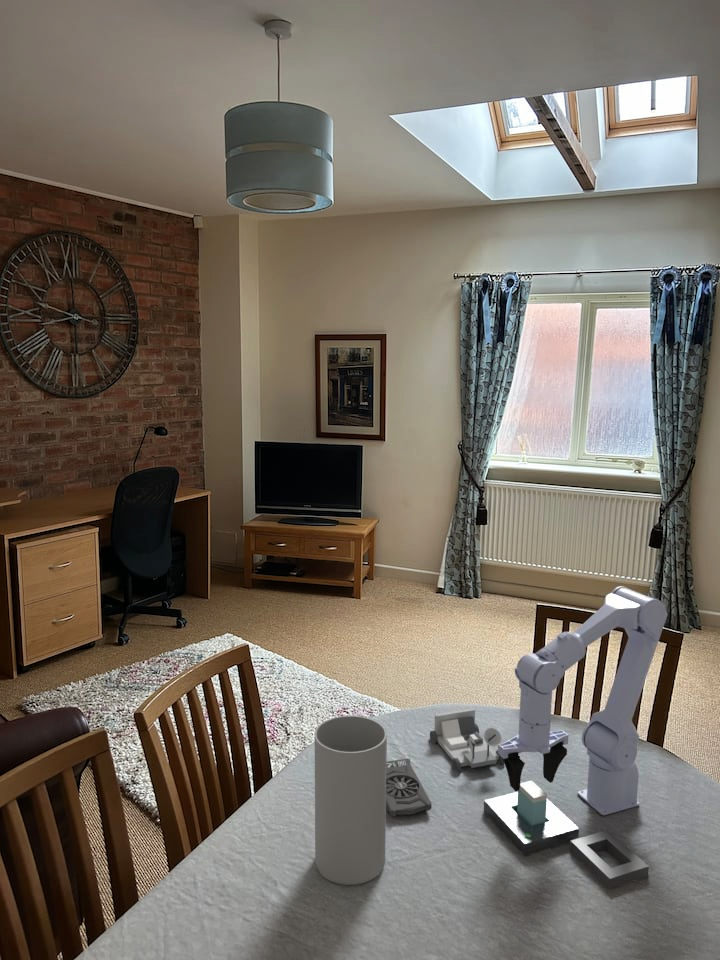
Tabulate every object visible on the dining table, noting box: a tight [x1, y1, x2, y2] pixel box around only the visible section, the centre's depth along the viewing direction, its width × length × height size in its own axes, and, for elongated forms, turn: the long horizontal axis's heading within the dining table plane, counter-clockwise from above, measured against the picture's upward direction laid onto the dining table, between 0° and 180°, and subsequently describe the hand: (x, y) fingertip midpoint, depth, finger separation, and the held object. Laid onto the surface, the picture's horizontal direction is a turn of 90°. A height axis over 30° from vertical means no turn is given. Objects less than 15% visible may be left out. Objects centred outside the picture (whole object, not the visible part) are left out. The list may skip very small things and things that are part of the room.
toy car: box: [429, 707, 505, 773], centre depth 164 cm, size 18×10×12 cm
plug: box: [517, 779, 548, 827], centre depth 139 cm, size 3×5×8 cm, turn 22°
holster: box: [569, 829, 650, 890], centre depth 130 cm, size 8×10×2 cm
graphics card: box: [386, 757, 432, 817], centre depth 150 cm, size 17×4×12 cm
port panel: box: [483, 791, 580, 857], centre depth 140 cm, size 12×14×3 cm
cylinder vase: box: [314, 715, 388, 886], centre depth 128 cm, size 12×12×25 cm
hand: (531, 783), depth 139 cm, fingers open, 7 cm apart
